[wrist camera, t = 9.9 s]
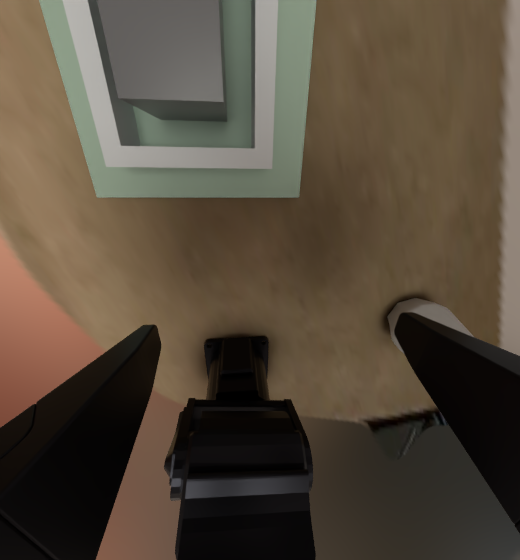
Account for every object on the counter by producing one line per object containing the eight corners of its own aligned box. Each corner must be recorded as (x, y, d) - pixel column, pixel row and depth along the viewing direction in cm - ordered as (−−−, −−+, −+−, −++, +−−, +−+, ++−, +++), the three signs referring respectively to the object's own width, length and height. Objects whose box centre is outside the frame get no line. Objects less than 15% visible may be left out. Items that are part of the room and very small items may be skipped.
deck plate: (295, 195, 18) (310, 205, 15) (104, 195, 17) (69, 205, 13) (326, -176, 11) (371, -341, 7) (-14, -228, 9) (-165, -461, 6)
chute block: (227, 121, 15) (223, 101, 9) (161, 119, 14) (118, 98, 9) (219, -51, 11) (207, -232, 6) (133, -60, 11) (40, -260, 6)
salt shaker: (440, 314, 25) (611, 444, 14) (394, 344, 27) (513, 484, 15) (420, 280, 23) (605, 403, 12) (369, 314, 24) (490, 454, 13)
